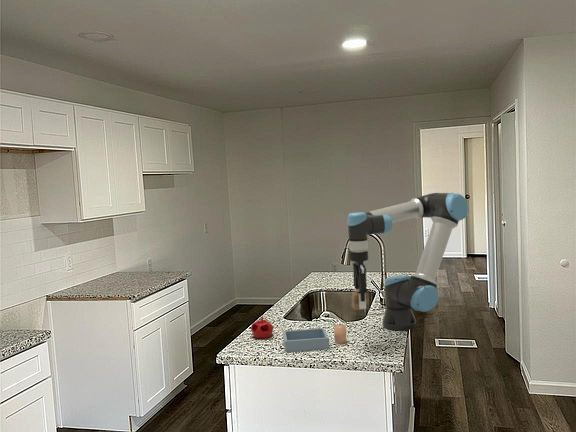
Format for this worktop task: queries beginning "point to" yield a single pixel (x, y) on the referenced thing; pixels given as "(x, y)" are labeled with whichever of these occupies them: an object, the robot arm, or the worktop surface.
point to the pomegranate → (262, 328)
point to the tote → (305, 340)
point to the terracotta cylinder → (340, 334)
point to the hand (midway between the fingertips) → (360, 306)
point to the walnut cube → (356, 301)
